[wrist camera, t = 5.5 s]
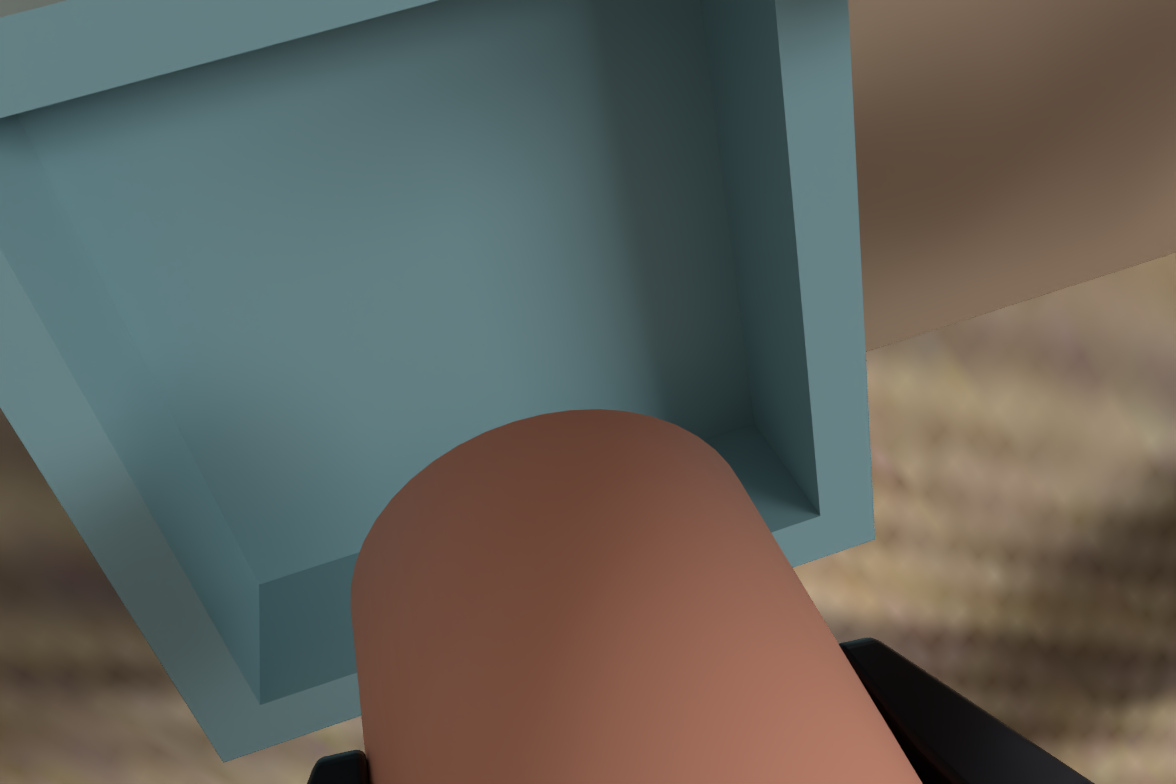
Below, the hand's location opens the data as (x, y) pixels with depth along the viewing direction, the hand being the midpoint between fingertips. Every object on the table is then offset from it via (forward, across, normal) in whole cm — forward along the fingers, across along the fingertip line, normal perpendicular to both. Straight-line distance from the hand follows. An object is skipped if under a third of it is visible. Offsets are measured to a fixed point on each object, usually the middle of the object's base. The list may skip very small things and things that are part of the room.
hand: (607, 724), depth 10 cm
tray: (+11, 0, 0) cm, 11 cm away
